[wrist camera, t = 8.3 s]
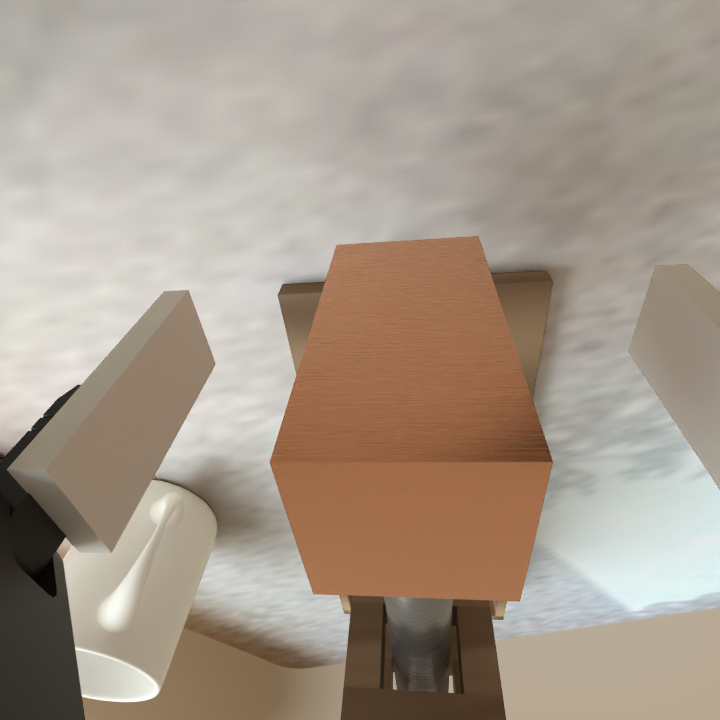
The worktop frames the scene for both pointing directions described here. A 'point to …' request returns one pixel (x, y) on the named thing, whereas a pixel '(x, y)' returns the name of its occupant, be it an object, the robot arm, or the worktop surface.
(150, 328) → the robot arm
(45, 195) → the worktop surface
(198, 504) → the mug
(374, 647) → the wooden stand
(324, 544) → the mallet
